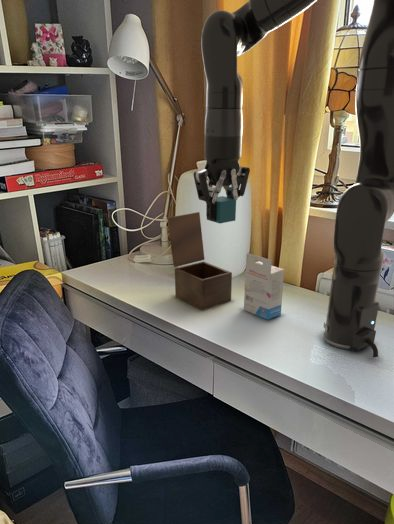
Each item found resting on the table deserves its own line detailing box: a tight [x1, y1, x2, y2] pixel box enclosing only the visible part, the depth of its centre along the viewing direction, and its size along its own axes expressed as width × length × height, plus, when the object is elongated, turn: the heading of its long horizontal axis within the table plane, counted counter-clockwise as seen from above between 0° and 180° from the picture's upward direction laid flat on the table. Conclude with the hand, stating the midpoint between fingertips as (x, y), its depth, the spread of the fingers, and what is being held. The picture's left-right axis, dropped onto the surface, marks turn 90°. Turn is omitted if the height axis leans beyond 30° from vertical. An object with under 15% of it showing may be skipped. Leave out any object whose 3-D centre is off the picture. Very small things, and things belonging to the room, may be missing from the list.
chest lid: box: [167, 211, 205, 268], centre depth 124 cm, size 12×10×1 cm
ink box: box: [243, 252, 285, 321], centre depth 114 cm, size 8×5×15 cm, turn 39°
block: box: [206, 195, 237, 225], centre depth 103 cm, size 4×4×4 cm
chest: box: [174, 260, 233, 311], centre depth 124 cm, size 12×10×8 cm
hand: (221, 218), depth 104 cm, fingers closed on block, 4 cm apart
